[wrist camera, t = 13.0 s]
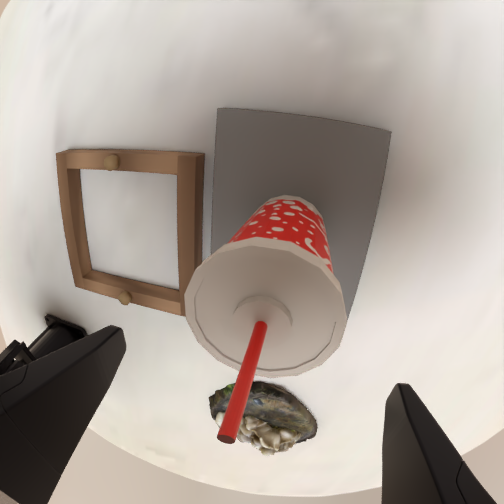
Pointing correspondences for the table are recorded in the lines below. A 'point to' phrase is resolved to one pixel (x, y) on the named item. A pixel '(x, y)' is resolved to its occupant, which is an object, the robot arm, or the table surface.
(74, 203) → the socket collar
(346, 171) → the rubber mat
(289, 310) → the beverage cup
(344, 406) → the table surface
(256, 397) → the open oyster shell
